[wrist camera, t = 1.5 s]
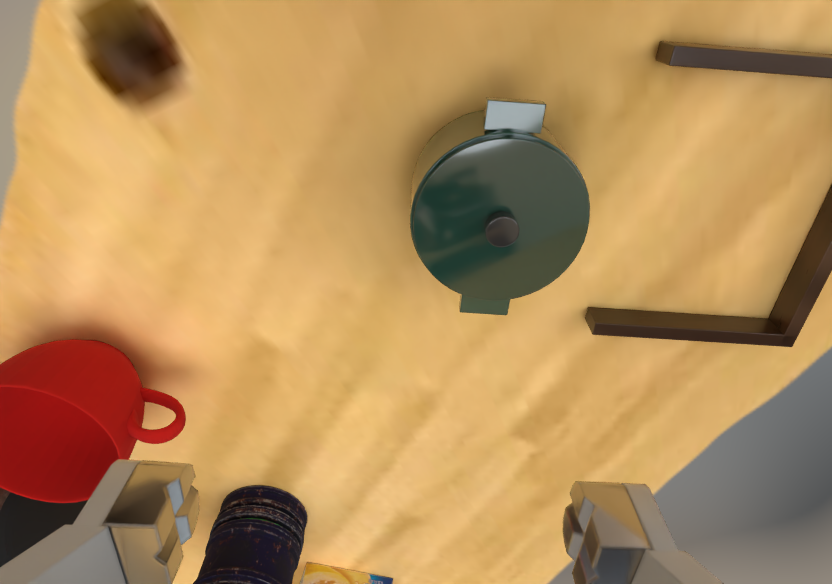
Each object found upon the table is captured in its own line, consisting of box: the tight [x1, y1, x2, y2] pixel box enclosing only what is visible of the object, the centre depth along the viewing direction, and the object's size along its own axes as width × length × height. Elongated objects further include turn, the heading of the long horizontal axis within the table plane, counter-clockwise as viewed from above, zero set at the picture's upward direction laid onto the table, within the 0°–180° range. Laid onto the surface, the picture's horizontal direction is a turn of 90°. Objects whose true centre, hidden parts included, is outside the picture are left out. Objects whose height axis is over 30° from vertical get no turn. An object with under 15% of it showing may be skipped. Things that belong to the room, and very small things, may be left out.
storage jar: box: [193, 486, 307, 584], centre depth 56 cm, size 10×10×15 cm
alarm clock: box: [0, 487, 88, 567], centre depth 50 cm, size 14×7×20 cm, turn 17°
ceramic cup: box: [0, 339, 186, 503], centre depth 47 cm, size 13×17×10 cm
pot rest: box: [585, 41, 832, 347], centre depth 42 cm, size 22×17×2 cm
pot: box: [410, 97, 590, 315], centre depth 39 cm, size 15×12×8 cm
